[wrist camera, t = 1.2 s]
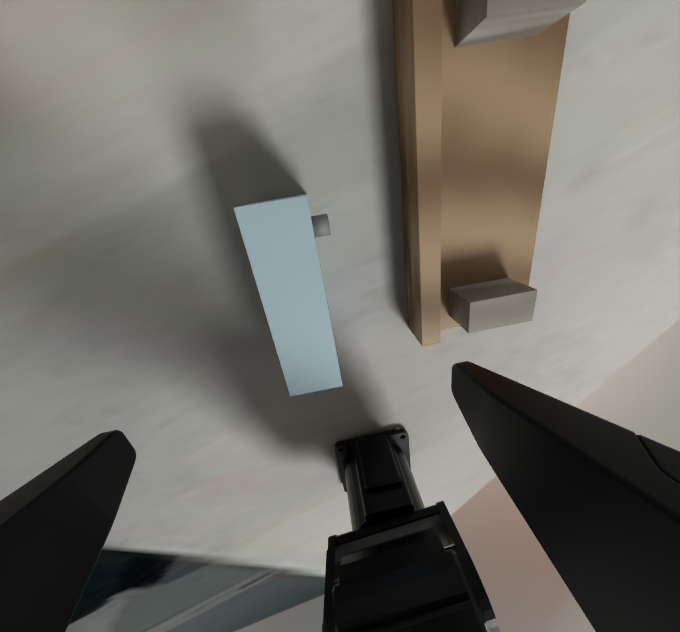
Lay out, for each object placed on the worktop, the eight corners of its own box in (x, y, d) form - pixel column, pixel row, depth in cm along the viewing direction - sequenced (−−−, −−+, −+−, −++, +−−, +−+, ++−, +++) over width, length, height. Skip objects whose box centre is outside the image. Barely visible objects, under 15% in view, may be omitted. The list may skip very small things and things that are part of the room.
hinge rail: (514, 308, 20) (552, 330, 17) (409, 328, 20) (428, 354, 17) (561, -46, 13) (648, -126, 9) (391, -21, 12) (420, -95, 9)
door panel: (345, 339, 20) (356, 383, 15) (293, 349, 20) (290, 396, 15) (320, 191, 16) (326, 192, 11) (254, 202, 16) (233, 207, 11)
